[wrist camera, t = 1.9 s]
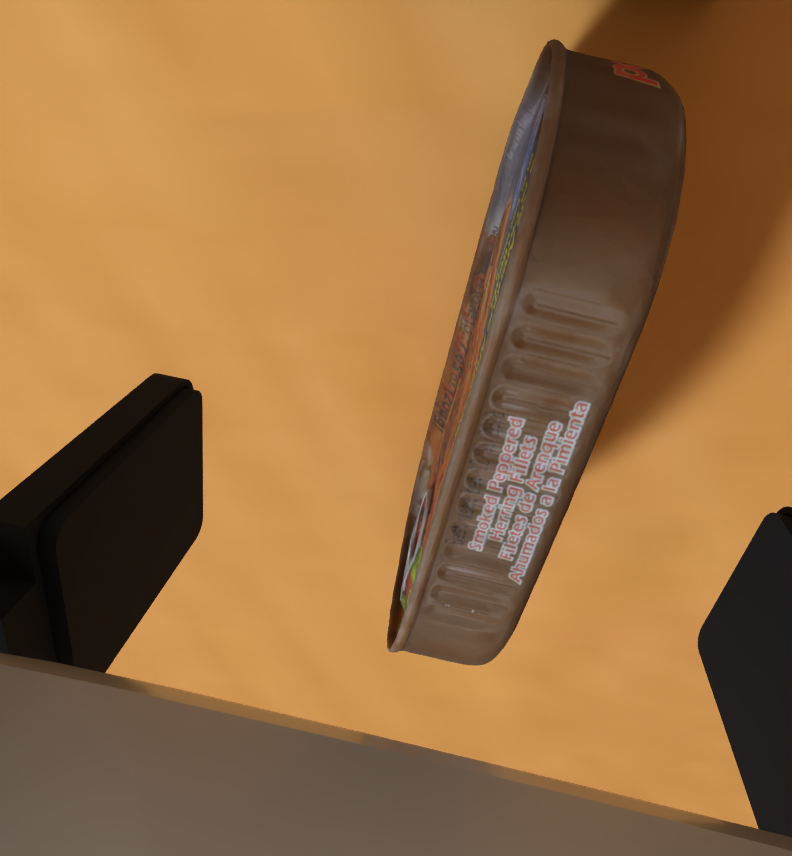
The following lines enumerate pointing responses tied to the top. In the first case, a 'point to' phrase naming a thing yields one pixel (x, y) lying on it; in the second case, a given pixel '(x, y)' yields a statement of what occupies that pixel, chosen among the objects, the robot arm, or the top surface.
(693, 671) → the top surface
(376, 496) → the top surface
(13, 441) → the top surface
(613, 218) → the tin
